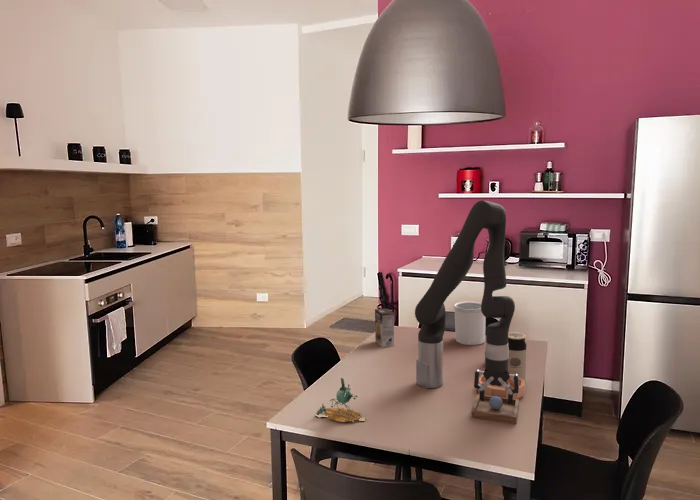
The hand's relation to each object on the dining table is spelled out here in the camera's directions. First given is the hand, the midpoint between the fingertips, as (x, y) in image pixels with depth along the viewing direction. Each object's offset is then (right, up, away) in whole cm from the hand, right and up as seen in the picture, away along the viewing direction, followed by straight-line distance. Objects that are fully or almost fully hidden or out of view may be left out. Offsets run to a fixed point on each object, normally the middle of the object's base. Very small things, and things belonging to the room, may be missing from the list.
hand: (495, 402), depth 174 cm
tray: (0, -3, 0) cm, 3 cm away
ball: (0, 0, 0) cm, 0 cm away
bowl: (+6, -1, +17) cm, 18 cm away
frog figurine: (-52, -5, -1) cm, 52 cm away
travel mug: (+14, 0, +26) cm, 30 cm away
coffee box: (-32, +6, +73) cm, 80 cm away
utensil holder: (+8, +7, +75) cm, 75 cm away
